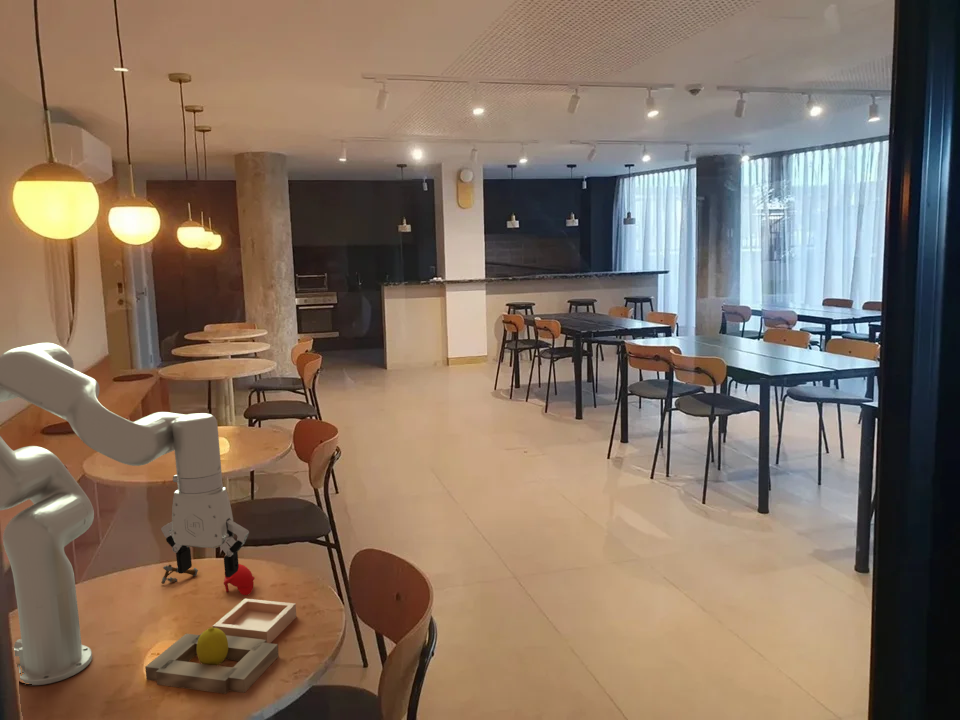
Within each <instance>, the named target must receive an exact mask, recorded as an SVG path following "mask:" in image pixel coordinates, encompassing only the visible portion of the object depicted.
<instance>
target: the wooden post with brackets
mask: <svg viewBox="0 0 960 720" xmlns="http://www.w3.org/2000/svg"><path fill="white" fill-rule="evenodd" d="M162 568H163V569H164V571H165V573H164V575H163V577H162V580H161V584H162V585H164V584H165V583H166V582H167V581H168V582H169V583H176V582H178V581H177V580H178V579H177V578H176V577H172V576H170V575H171V574H172V573H174V572H175V573H176V574H177V573H178V566H176V567H173V566H172V564H168V565H164V566H163V567H162ZM198 571H199V570H198V568H197V567H193V568H189V569H188V570H186V571H185V572H184V573H183V574H187V575H190V576H191V575H193V576H192V577H194V576H196V577H197V575H198ZM178 574H179V573H178ZM169 576H170V577H169ZM175 581H176V582H175Z"/></svg>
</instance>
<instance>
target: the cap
mask: <svg viewBox="0 0 960 720" xmlns="http://www.w3.org/2000/svg"><path fill="white" fill-rule="evenodd" d="M238 564H239V567H238V571H237V572H236V573H235V574H233V575H232V576H231V577H226V576H225V575H224V579H223V585H224V589H225V592H226V593H229V592H230V590H229V585H228V584H230V585H232V586H234V587H235V588H237V591H238V592H239V593H240V594H241V595H242V596H245V595H246V596H249V595H250V594H251V593H252V592H253V589H254V580H255V579H256V578H255V576H253V573H252V572H251V570H250V569H249V568H248V567H247V566H245V565H243V564H240V563H238ZM248 594H249V595H248Z"/></svg>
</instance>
